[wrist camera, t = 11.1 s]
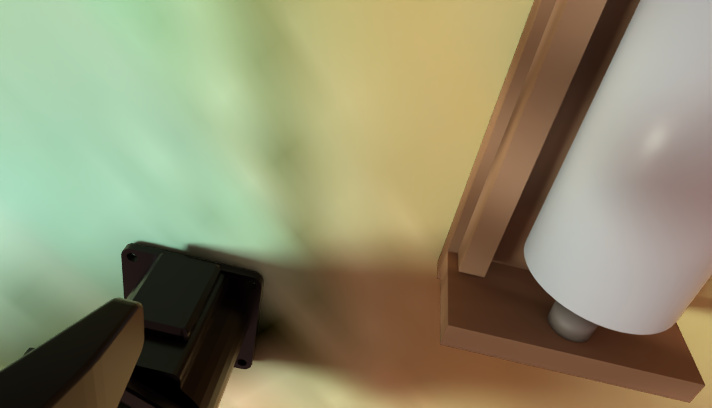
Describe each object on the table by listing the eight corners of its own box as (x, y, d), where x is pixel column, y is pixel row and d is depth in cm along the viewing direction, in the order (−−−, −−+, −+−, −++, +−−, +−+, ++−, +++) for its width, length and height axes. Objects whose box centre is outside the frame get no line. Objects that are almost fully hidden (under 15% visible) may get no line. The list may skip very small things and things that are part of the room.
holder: (641, 310, 24) (682, 411, 20) (437, 262, 24) (436, 353, 20) (995, -196, 14) (1227, -202, 10) (638, -281, 14) (720, -323, 10)
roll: (650, 245, 21) (703, 353, 17) (515, 214, 21) (533, 314, 17) (834, -40, 15) (987, 14, 11) (647, -84, 15) (727, -46, 11)
